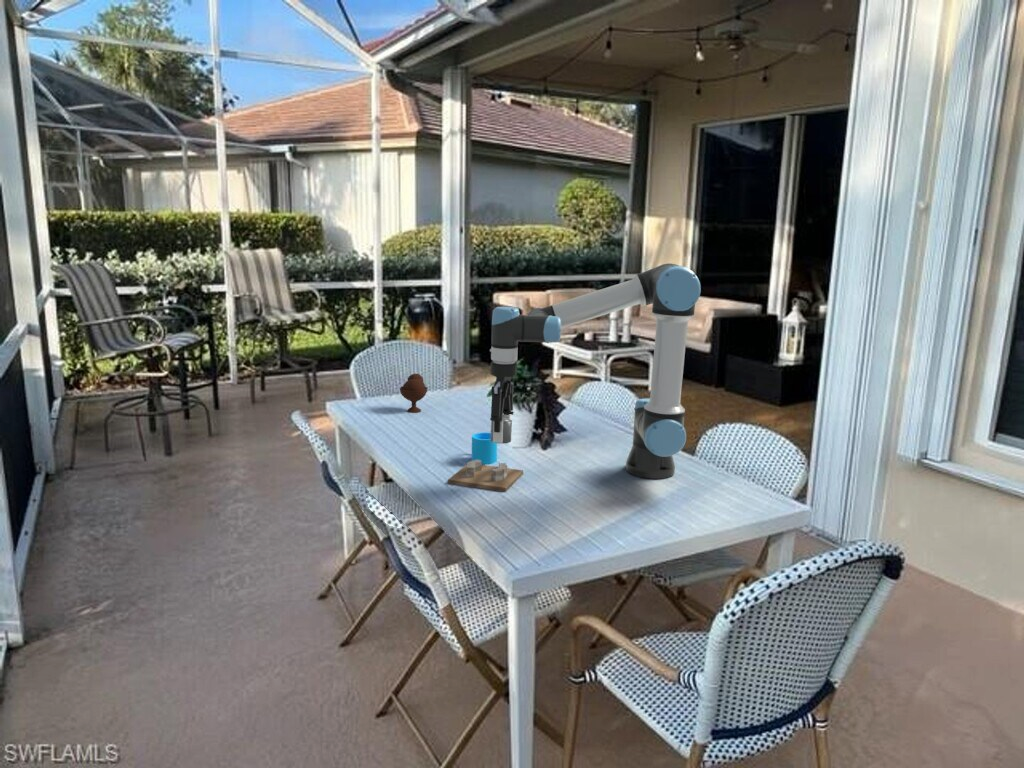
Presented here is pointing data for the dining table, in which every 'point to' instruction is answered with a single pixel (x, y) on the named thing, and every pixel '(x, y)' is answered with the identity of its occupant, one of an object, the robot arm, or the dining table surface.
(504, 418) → the cap
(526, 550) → the dining table surface
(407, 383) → the ice cream bowl
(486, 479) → the board
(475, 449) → the mug
